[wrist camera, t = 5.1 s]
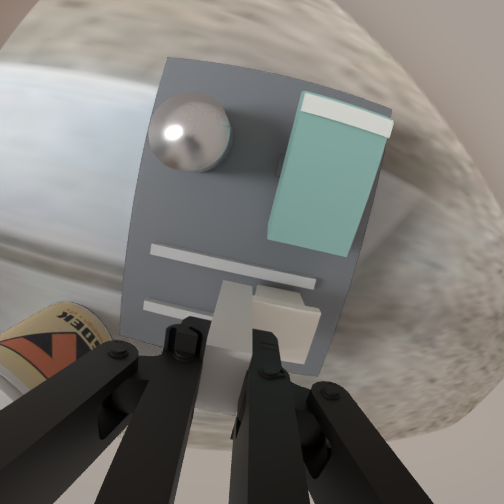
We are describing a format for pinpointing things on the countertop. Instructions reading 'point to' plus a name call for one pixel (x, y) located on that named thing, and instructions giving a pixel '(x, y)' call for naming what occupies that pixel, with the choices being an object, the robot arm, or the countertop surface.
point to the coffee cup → (46, 346)
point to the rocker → (327, 174)
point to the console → (229, 214)
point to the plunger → (190, 132)
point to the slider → (285, 321)
